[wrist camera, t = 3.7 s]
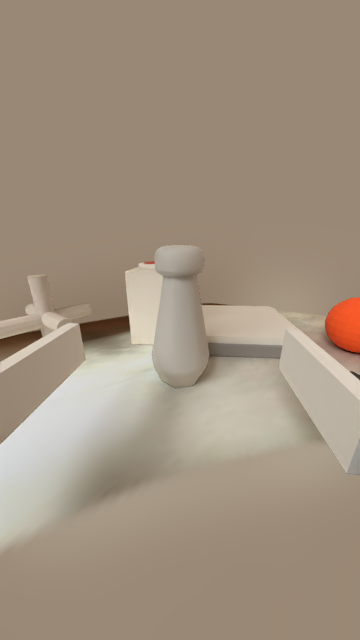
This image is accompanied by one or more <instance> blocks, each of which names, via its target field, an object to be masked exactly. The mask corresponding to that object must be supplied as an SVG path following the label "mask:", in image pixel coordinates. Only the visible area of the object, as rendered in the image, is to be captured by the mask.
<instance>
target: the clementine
mask: <svg viewBox="0 0 360 640" xmlns="http://www.w3.org/2000/svg"><path fill="white" fill-rule="evenodd" d="M325 329H326V333H327V335H328V336H329V338H330V339H331V341H332V342H334V343H335V344H336V345H337V346H338V347H340V348H342V349H345V350H348V351H351V352H357V353H360V298H350V299H347V300H345V301H342V302H340V303H338V304H337V305H336V306H334V307H333V308H332V309H331V310H330V312H329V313H328V316H327V318H326V320H325Z"/></svg>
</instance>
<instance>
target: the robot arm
mask: <svg viewBox="0 0 360 640" xmlns="http://www.w3.org/2000/svg"><path fill="white" fill-rule="evenodd" d="M85 360H86V359H85V354H84V348H83V343H82V337H81V332H80V326H79V323H67V324H65V325H64V326H62V327H60V328H58V329H57V330H55V331H53V332H51V333H50V334H48V335H46V336H45V337H43V338H41V339H39V340H38V341H36V342H34V343H32V344H31V345H29V346H27V347H26V348H24V349H22V350H20V351H19V352H17V353H15V354H13V355H12V356H10V357H8V358H7V359H5V360H3V361H1V362H0V444H1V443H2V442H3V441H4V440H5V439H6V438H7V437H8V436H9V435H10V434H11V433H12V432H13V431H14V430H15V429H16V428H17V427H18V426H19V425H20V424H21V423H22V422H23V421H24V420H25V419H26V418H27V417H28V416H29V415H30V414H31V413H32V412H33V411H34V410H35V409H36V408H37V407H38V406H39V405H40V404H41V403H42V402H43V401H45V400H46V399H47V398H48V397H49V396H50V395H51V394H52V393H53V392H54V391H55V390H56V389H57V388H58V387H59V386H60V385H61V384H62V383H63V382H64V381H65V380H66V379H67V378H68V377H69V376H70V375H71V374H72V373H73V372H74V371H75V370H76V369H77V368H78V367H79V366H80V365H81V364H82V363H83V362H84V361H85ZM279 370H280V371H281V373H282V374H283V376H284V377H285V379H286V380H287V382H288V384H289V385H290V387H291V388H292V390H293V391H294V393H295V394H296V396H297V398H298V399H299V401H300V402H301V404H302V405H303V407H304V409H305V410H306V412H307V413H308V415H309V416H310V418H311V419H312V421H313V423H314V424H315V426H316V427H317V429H318V430H319V432H320V433H321V435H322V437H323V438H324V440H325V441H326V443H327V444H328V446H329V447H330V449H331V451H332V452H333V454H334V455H335V457H336V458H337V460H338V461H339V463H340V464H341V466H342V468H343V469H344V471H345V472H346V474H358V475H360V375H358V374H356V373H355V372H349V371H348V370H347V369H346V368H344V367H343V366H342V365H341V364H340V363H338V362H337V361H336V360H335V359H334V358H333V357H331V356H330V355H329V354H328V353H327V352H325V351H324V350H323V349H322V348H321V347H319V346H318V345H317V344H316V343H315V342H314V341H312V340H311V339H310V338H309V337H308V336H306V335H305V334H304V333H303V332H302V331H300V330H299V329H285V335H284V340H283V346H282V352H281V357H280V363H279Z"/></svg>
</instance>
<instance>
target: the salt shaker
mask: <svg viewBox="0 0 360 640" xmlns="http://www.w3.org/2000/svg"><path fill="white" fill-rule="evenodd" d="M204 261H205V260H204V253H203V251H202V250H201V249H200V248H198V247H195V246H189V245H169V246H163V247H161V248H159V249H158V250H157V251H156V253H155V269H156V272H157V273H158V274H160V275H162V276H163V280H162V289H161V297H160V304H159V311H158V317H157V324H156V331H155V338H154V345H153V351H152V359H153V364H154V367H155V369H156V371H157V373H158V375H159V377H160V378H161V380H162V381H163V382H165V383H167V384H168V385H170V386H172V387H174V388H180V387H187V386H193V385H194V384H195V383H196V381H197V380H198V378H199V377H200V375H201V374H202V372H203V371H204V370H205V368H206V367H207V363H208V359H209V349H208V343H207V336H206V330H205V324H204V317H203V311H202V305H201V298H200V292H199V286H198V280H197V274H199V273H201V272H202V271H203V269H204Z"/></svg>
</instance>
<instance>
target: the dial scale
mask: <svg viewBox="0 0 360 640" xmlns="http://www.w3.org/2000/svg"><path fill="white" fill-rule="evenodd" d="M125 279H126V288H127V299H128V310H129V321H130V331H131V342H132V344H145V345H154V338H155V331H156V324H157V317H158V311H159V304H160V297H161V289H162V280H163V276H162V275H160V274H158V273H157V272H156V269H155V261H154V262H153V261H151V262H144V263H140V264H139V267H137V268H134V269H131V270H128V271H125ZM202 311H203V317H204V324H205V330H206V336H207V343H208V349H209V356H233V357H261V358H280V357H281V352H282V346H283V340H284V335H285V329H298V328H297V327H296V326H294V325H293V324H292V323H291V322H290V321H288V320H287V319H286V318H285V317H283V316H282V315H281V314H280V313H279V312H277V311H276V310H275V309H274V308H273V307H271V306H219V305H202Z"/></svg>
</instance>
